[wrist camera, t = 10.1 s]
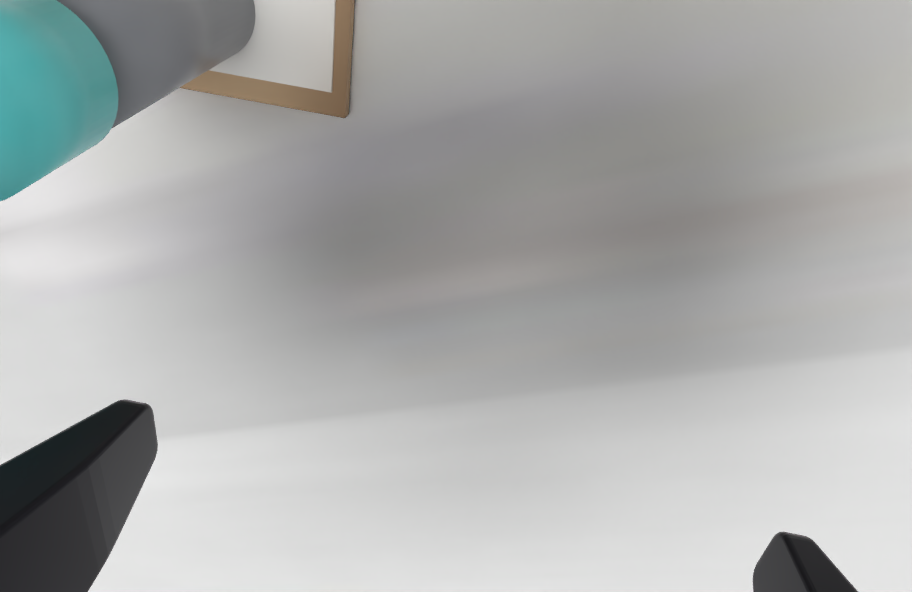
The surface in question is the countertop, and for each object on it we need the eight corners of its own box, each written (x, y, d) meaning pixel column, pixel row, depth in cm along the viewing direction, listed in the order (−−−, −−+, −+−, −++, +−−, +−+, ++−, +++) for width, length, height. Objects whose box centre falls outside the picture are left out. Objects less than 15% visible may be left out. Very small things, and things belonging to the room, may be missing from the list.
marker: (257, -47, 18) (11, 31, 10) (260, 70, 19) (51, 219, 11) (144, -67, 18) (-189, -5, 10) (156, 52, 19) (-121, 185, 11)
